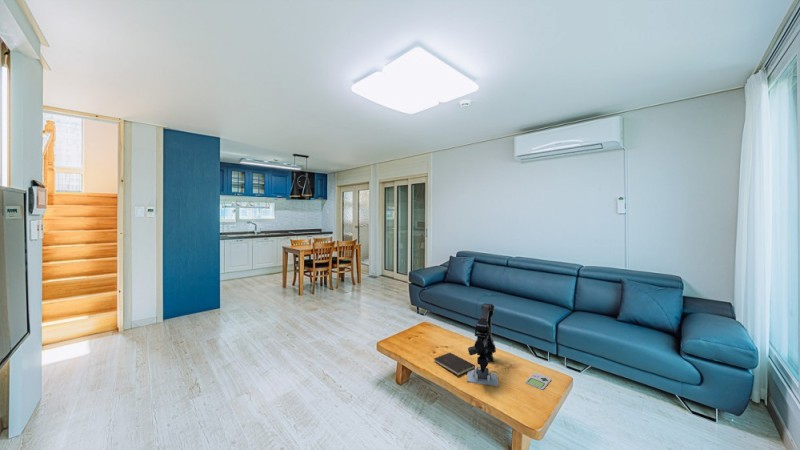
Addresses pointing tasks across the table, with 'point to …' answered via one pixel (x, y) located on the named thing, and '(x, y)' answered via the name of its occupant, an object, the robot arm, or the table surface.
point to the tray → (490, 380)
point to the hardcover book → (454, 364)
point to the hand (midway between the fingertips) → (482, 368)
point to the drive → (482, 375)
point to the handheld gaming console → (538, 381)
